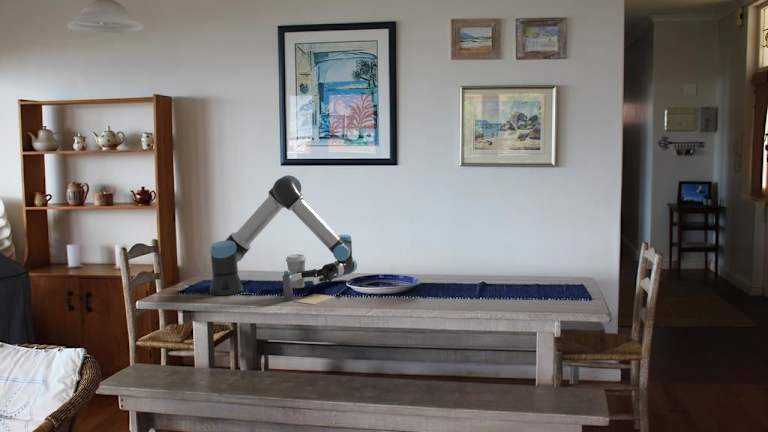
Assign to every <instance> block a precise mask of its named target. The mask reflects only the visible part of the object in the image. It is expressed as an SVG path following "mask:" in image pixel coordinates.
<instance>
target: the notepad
mask: <svg viewBox="0 0 768 432" xmlns="http://www.w3.org/2000/svg"><path fill="white" fill-rule="evenodd" d="M334 298H336V296H333V295H327V294H320V293H313V294H310V295H307V296H304V297H301V298H298V299H295V300H293V302H295V303H301V304H308V305H314V306H315V305H318V304H321V303H323V302H327V301H329V300H332V299H334Z"/></svg>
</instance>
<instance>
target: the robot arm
mask: <svg viewBox="0 0 768 432" xmlns="http://www.w3.org/2000/svg"><path fill="white" fill-rule="evenodd" d="M301 191H302V183H301V181H300V180H299V178H297V177H295V176H294V175H290V174H289V175H284V176H282V177H279V178H278V179H277V180H276V181H275V182H274V184H273V186H272V187H271V188H270V189H269V191H268V197H267V198H266V199H265V200H264V201H263V202H262V203H261V205H260V206H258V207H257V209H256V210H255V211H254V212H253V214H251V216H250V217H249V218H248V219H247V220H246V222H244V223H243V225H242V226H241V227H240V228H239V229H238V230H237V232H232V233H230V235H229V236H227V238H226V239H225V240H220V241H217V242H213V243H212V244H211V246H210V257H211V258H210V259H211V260H210V261H211V270H212V271H211V272H212V278H211V282H210V287H209V294H210V293H211V295H212V294H213V295H212V296H229V295H231V296H232V295H235V294H238V292H239V293H241V292H240V291H242V290H244V286H243V284H242V281H241V278H240V276H239V271H238V270H239V269H238V262H241V260H242V259H243V258H244V257H245V255H246V254H247V253H248V252H249V251H250V250H251V243H253V241H254V240H255V239H256V238H257V237H258V236H259V234H261V233H262V232H263V230H264V229H265V228H267V226H268V225H269V223H270V222H271V221H272V220H273V219H274V218H275V217H276V216H277V214H278V213H279V212H280V211H281V210H282V209H287V210H288V211H292V212H293V214H294V215H295V216H296V217H297V218H298V219H299V220H300V221H301V222H302V223H304V225H305V226H306V227H307V228H308V230H310V231H311V232H312V234H314V235H315V237H317V238H318V240H320V242H321V243H322V244H323V245H324V246H325V247H326V248H327V249H328V250H329V251H330V253H332V255H333V257H334V258H335V261H334V262H330V263H327V264H324V265H323V266H322V268H319V269H316V268H314V269H308V270H305V271H300V272H297V274H294V275H292V281H296V280H301V279H302V278H304V279H306V278H312V283H313V285H317V284H320V283H323V282H332V281H333V280H335V279H337V278H340V277H343V276H346V275H350V274H353V273H354V272H355V271H356V270H357V269H358V264H357V263H358V262H357V261H356V259H355V258H353V250H352V249H353V244H352V243H353V242H352V241H353V240H352V236H351V235H350V234H337V233H336V231H334V230H333V229H332V227H331V226H329V225H328V223H327V222H326V221H325V220H324V218H322V217H321V215H319V214H318V213H317V212H316V211H315V210H314V209H313V208H312V206H310V204H309V203H308V202H307V201H306V200H305V199H304V195H303V194H302V192H301ZM242 292H243V291H242Z"/></svg>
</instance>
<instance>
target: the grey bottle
mask: <svg viewBox="0 0 768 432" xmlns="http://www.w3.org/2000/svg"><path fill="white" fill-rule="evenodd" d="M283 273H284V274H283V275H282V289H283V301H284V302H292V301H294V292H293V291H294V290H293V289H294V288H292V275H290V271H288V270H284V271H283Z"/></svg>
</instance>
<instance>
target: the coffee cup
mask: <svg viewBox="0 0 768 432" xmlns="http://www.w3.org/2000/svg"><path fill="white" fill-rule="evenodd" d="M306 260H307V259H306V256H305V255H304V254H300V253H298V254H289V255H287V256H286V258H285V262H286V264H287V271H290V275H294V274H297V272H300V271H306ZM304 287H305V278H302V279H301V280H296V281H292V288H293V289H301V288H304Z"/></svg>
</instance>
